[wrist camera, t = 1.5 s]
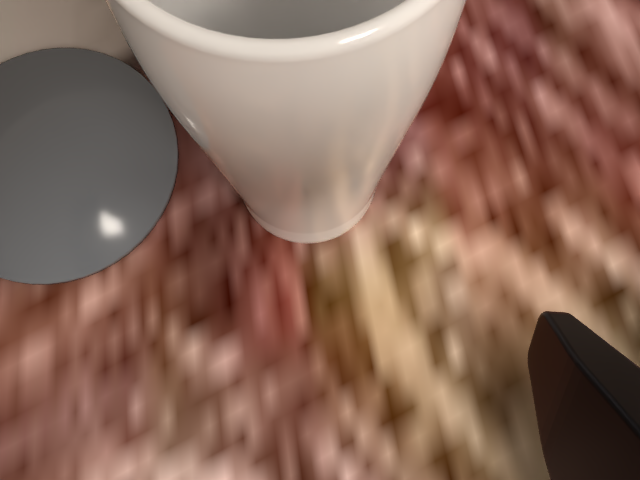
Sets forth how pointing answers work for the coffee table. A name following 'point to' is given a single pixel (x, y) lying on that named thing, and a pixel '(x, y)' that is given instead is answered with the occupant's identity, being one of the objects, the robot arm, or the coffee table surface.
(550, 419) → the robot arm
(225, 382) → the coffee table surface
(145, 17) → the white cup
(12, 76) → the coaster
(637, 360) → the coffee table surface
